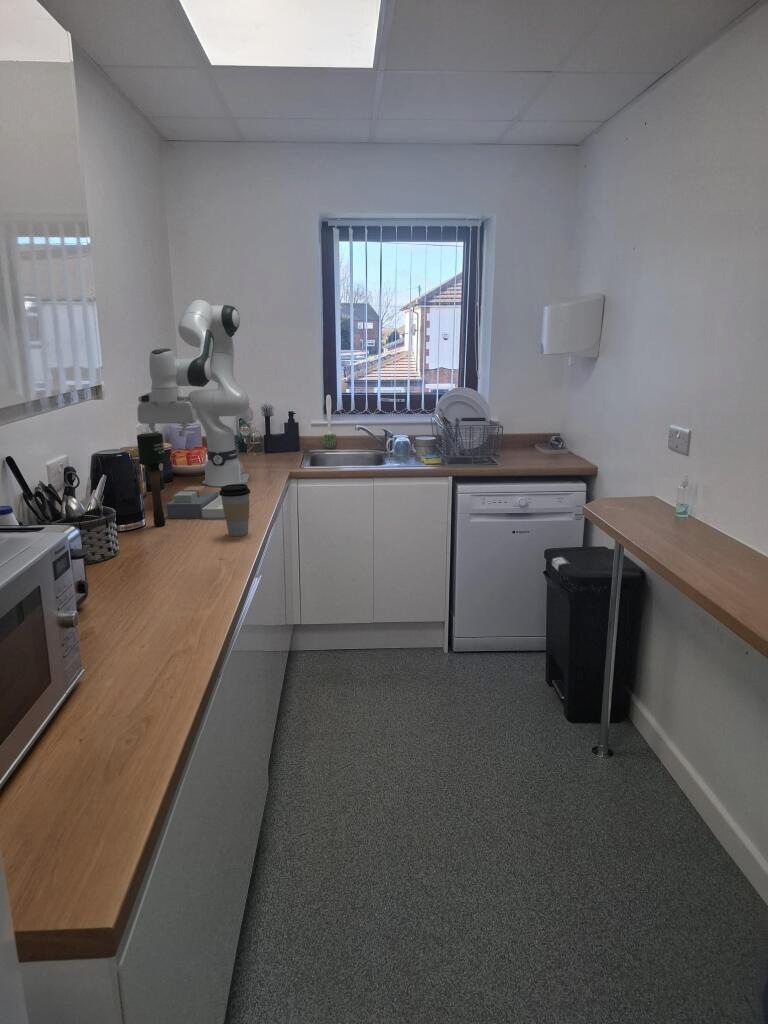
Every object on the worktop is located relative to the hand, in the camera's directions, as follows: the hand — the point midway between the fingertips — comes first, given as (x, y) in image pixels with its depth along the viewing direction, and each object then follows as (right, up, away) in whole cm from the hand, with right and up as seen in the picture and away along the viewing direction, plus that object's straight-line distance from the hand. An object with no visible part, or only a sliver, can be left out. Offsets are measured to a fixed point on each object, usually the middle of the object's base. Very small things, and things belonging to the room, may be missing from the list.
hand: (169, 436), depth 235 cm
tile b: (+7, -23, -5) cm, 24 cm away
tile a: (+8, -21, +3) cm, 22 cm away
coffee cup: (+30, -34, -28) cm, 53 cm away
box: (+20, -27, -1) cm, 33 cm away
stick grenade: (+2, -31, -16) cm, 35 cm away
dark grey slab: (+9, -27, 0) cm, 28 cm away
